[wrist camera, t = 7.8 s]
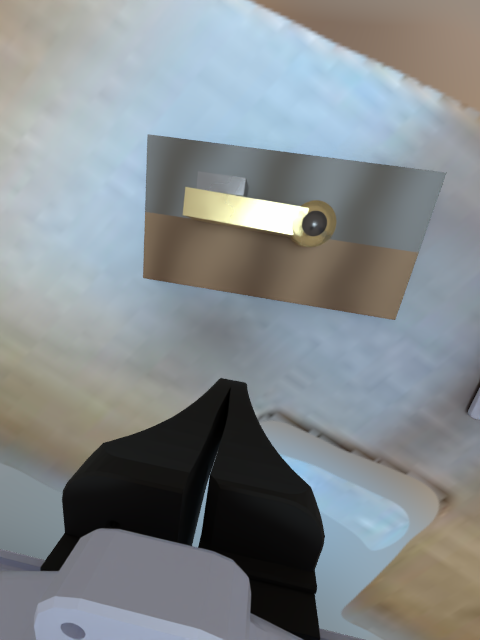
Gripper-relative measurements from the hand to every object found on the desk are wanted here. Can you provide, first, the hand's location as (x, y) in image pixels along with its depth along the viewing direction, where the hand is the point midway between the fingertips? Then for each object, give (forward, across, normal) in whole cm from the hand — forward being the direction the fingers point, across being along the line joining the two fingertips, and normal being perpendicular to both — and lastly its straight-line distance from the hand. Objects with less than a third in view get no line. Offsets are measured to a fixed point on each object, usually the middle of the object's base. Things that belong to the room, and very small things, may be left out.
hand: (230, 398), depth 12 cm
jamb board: (+10, -1, -8) cm, 13 cm away
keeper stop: (+9, +3, -11) cm, 14 cm away
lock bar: (+8, 0, -9) cm, 12 cm away
